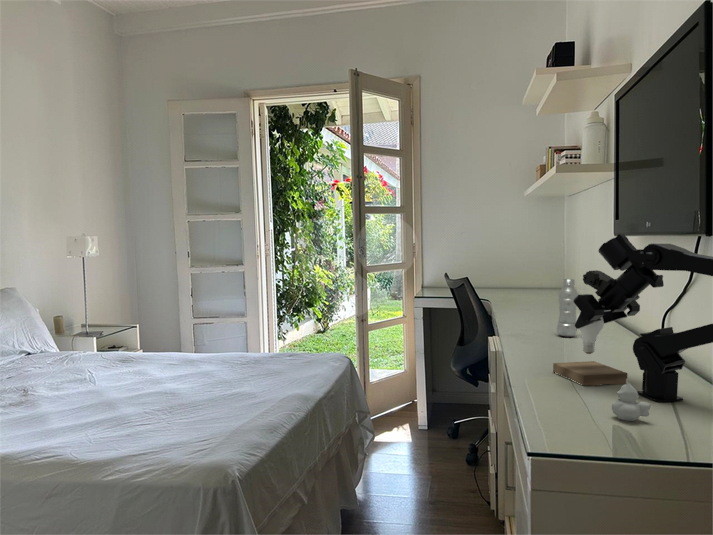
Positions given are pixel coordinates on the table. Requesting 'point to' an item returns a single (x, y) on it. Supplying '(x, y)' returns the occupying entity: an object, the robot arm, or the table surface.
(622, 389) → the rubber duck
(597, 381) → the walnut plinth
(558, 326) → the plastic bottle
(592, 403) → the table surface
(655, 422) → the table surface
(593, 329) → the lightbulb
